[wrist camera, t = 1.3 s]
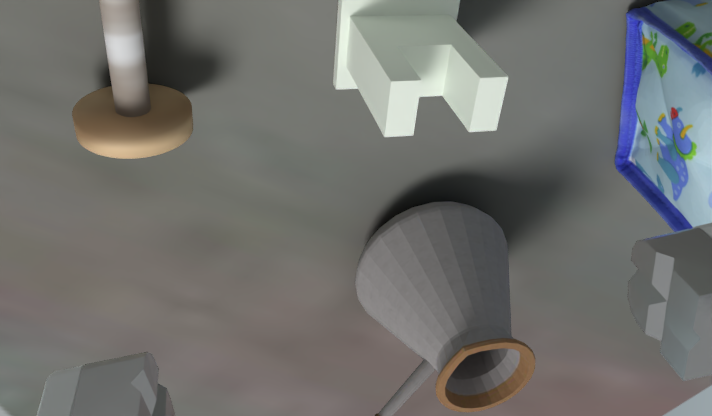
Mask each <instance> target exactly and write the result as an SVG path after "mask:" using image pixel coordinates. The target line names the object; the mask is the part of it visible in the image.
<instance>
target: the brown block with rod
mask: <svg viewBox="0 0 712 416" xmlns="http://www.w3.org/2000/svg"><path fill="white" fill-rule="evenodd" d="M99 3H100V10H101V16H102V23H103V30H104V37H105V44H106V50H107V57H108V64H109V71H110V78H111V84H112V86H109V87H105V88H102V89H99V90H96V91H94V92H92V93H90V94H88V95H86V96H85V97H83V98H82V99H80V100H79V101H78V102H77V103H76V105H75V106H74V108H73V111H72V116H73V121H74V126H75V132H76V136H77V140H78V141H79V143H80V144H81V145H82V146H83V147H84V148H86V149H87V150H89V151H91V152H93V153H96V154H99V155H102V156H107V157H112V158H125V159H131V158H144V157H150V156H155V155H159V154H162V153H165V152H168V151H170V150H173V149H175V148H177V147H178V146H180V145H181V144H183V143H184V142H185V141H186V140H187V139H188V138H189V137H190V135H191V134H192V131H193V118H192V106H191V102H190V100H189V99H188V98H187V97H186V96H185V95H184V94H183V93H181V92H179V91H177V90H175V89H172V88H169V87H166V86H162V85H157V84H148V77H147V68H146V59H145V50H144V41H143V32H142V23H141V14H140V5H139V0H99Z"/></svg>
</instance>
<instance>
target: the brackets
mask: <svg viewBox="0 0 712 416" xmlns="http://www.w3.org/2000/svg"><path fill="white" fill-rule="evenodd" d="M459 4H460V0H338V16H337V32H336V47H335V63H334V78H333V84H334V86H335V88H336V89H359V91H360V93H361V95H362V96H363V98H364V100H365V102H366V104H367V106H368V108H369V109H370V111H371V113H372V115H373V117H374V119H375V121H376V122H377V124H378V126H379V128H380V130H381V132H382V133H383V135H384V137H395V136H412V135H413V134H414V127H415V121H416V114H417V107H418V100H419V97H425V96H443V97H444V99H445V100H446V101H447V103H448V104H449V105H450V107H451V108H452V110H453V111H454V112H455V114H456V115H457V116H458V118H459V119H460V120H461V122H462V123H463V124H464V126H465V127H466V128H467V130H468V131H469V132H478V131H495V130H496V129H497V125H498V120H499V116H500V112H501V107H502V103H503V99H504V94H505V90H506V85H507V81H508V76H507V75H506V74H505V73H504V72H503V71H502V69H501V68H500V67H499V66H498V65H497V64H496V63H495V62H494V61H493V60H492V59H491V58H490V57H489V56H488V55H487V54H486V53H485V51H484V50H483V49H482V48H481V47H480V46H479V45H478V44H477V43H476V42H475V41H474V40H473V39H472V38H471V37H470V36H469V35H468V33H467V32H466V31H465V30H464V29H463V28H462V27H461V26H460V25H459V24H458V23H457V16H458V10H459Z"/></svg>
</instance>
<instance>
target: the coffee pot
mask: <svg viewBox="0 0 712 416" xmlns="http://www.w3.org/2000/svg"><path fill="white" fill-rule="evenodd" d="M355 285H356V290H357V296H358V299H359V301H360V302H361V304H362V306H363V307H364V309H365V310H366V312H367V313H368V314H369V315H370V316H372V317H373V318H374V319H375V320H376V321H378V322H379V323H380V324H381V325H382V326H384V327H385V328H386V329H387V330H389V331H390V332H391V333H392V334H393V335H395V336H396V337H397V338H398V339H399V340H401V341H402V342H403V343H404V344H405V345H407V346H408V347H409V348H410V349H411V350H413V351H414V352H415V353H416V354H418V355H419V356H420V357H421V358H422V359H424V360H423V361H422V363H421V364H420V365H419V366H418V367H417V368H416V370H415V371H414V372H413V373H412V374H411V376H410V377H409V378H408V379H407V380H406V381H405V383H404V384H403V385H402V386H401V387H400V388H399V390H398V391H397V392H396V393H395V394H394V395H393V397H392V398H391V399H390V400H389V401H388V403H387V404H386V405H385V406H384V407H383V408H382V410H381V411H380V412H379V413H378V414H376V415H375V416H392V415H393V414H394V413H395V412H396V411H397V410H398V409H399V408H400V407H401V406H402V405H403V404H404V403H405V402H406V400H407V399H408V398H409V397H410V396H411V395H412V394H413V393H414V392H415V391H416V390H417V389H418V388H419V387H420V385H421V384H422V383H423V382H424V381H425V380H426V379H427V378H428V377H429V376H430V375H431V374H432V373H433V372H434V371H435V369H436V370H437V371H438V378H437V382H436V395H437V397H438V399H439V401H440V402H441V403H442V404H443V405H444V406H446V407H447V408H449V409H451V410H454V411H458V412H475V411H482V410H485V409H488V408H492V407H494V406H496V405H499V404H501V403H503V402H505V401H507V400H508V399H510V398H511V397H513V396H514V395H516V394H517V393H518V392H519V391H520V390H521V389H522V388H523V387H524V386H525V385H526V384H527V382H528V381H529V380H530V378H531V377H532V374H533V372H534V369H535V356H534V354H533V351H532V350H531V349H530V348H529V347H528V346H527V345H526V344H525V343H523V342H521V341H518V340H516V339H514V338H513V337H512V336H511V313H510V288H509V262H508V244H507V241H506V239H505V236H504V233H503V230H502V228H501V227H500V226H499V225H498V224H497V223H496V221H495V220H494V219H493V218H492V217H491V216H490V215H488V214H486V213H484V212H482V211H480V210H479V209H477V208H475V207H472V206H470V205H467V204H462V203H457V202H452V201H449V202H432V203H428V204H424V205H420V206H416V207H413V208H410V209H408V210H406V211H404V212H402V213H400V214H398V215H396V216H395V217H393V218H392V219H391V220H389V221H388V222H387V223H386V224H384V225H383V226H382V227H380V228H379V229H378V230H377V232H376V233H375V234H374V235H373V236H372V237H371V239H370V240H369V241H368V242H367V244H366V246H365V248H364V250H363V252H362V254H361V256H360V259H359V262H358V267H357V273H356V279H355Z"/></svg>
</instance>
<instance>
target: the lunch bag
mask: <svg viewBox="0 0 712 416" xmlns="http://www.w3.org/2000/svg"><path fill="white" fill-rule="evenodd" d="M626 19H627V32H626V53H625V71H624V85H623V94H622V101H621V114H620V126H619V137H618V147H617V151H616V156H615V165H616V169H617V170H618V171H619V173H621V174H622V175H623V176H624V177H625V179H626V180H627V181H629V182H630V183H631V184H632V186H633V187H634V188H635V189H636V190H637V191H638V192H639V193H640V194H641V195H642V196H643V197H644V198H645V199H646V200H647V201H648V202H649V204H650V205H651V206H652V207H653V208H654V209H655V210H656V211H657V212H658V214H659V215H660V216H661V217H662V218H663V219H664V220H665V222H666V223H667V224H668V225H669V226H670V227H671V228H672V230H673V231H674V232H677V231H681V230H685V229H691V228H693V227H696V226H700V225H704V224H708V223H712V0H666V1H661V2H656V3H653V4H651V5H648V6H645V7H641V8H634V9H632V10H630V11H628V12H627V13H626Z"/></svg>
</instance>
